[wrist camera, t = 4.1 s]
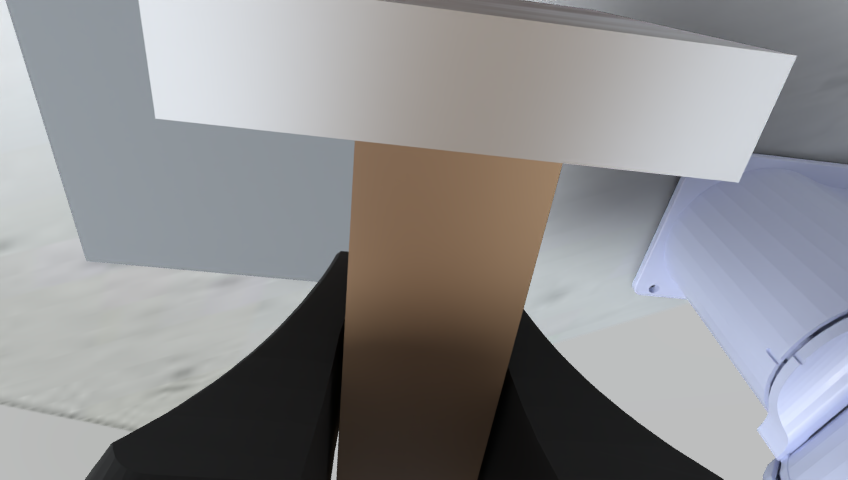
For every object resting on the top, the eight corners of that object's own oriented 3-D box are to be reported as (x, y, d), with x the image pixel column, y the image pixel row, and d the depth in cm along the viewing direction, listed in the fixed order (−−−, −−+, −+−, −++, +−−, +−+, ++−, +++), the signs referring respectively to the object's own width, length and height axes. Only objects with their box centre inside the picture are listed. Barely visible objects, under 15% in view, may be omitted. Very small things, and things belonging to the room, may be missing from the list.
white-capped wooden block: (591, 9, 11) (797, 55, 5) (497, 372, 17) (546, 600, 11) (289, -32, 11) (134, -32, 5) (293, 357, 16) (223, 587, 10)
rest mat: (412, -94, 16) (412, -95, 16) (378, 279, 25) (377, 287, 25) (-31, -162, 15) (-46, -164, 15) (93, 253, 24) (86, 260, 24)
